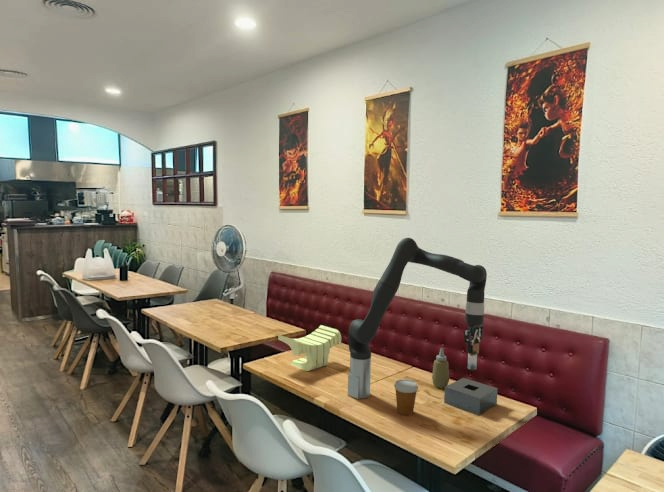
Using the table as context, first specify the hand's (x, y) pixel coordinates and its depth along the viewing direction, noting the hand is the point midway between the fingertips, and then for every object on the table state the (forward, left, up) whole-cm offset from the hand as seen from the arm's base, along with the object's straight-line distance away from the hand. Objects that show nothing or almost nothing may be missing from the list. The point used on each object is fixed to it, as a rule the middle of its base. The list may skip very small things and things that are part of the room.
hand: (472, 351), depth 185 cm
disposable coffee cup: (-28, +14, -23) cm, 39 cm away
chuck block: (0, 0, -23) cm, 23 cm away
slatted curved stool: (-21, +80, -23) cm, 86 cm away
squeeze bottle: (+7, +19, -23) cm, 31 cm away
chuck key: (0, 0, -7) cm, 7 cm away
